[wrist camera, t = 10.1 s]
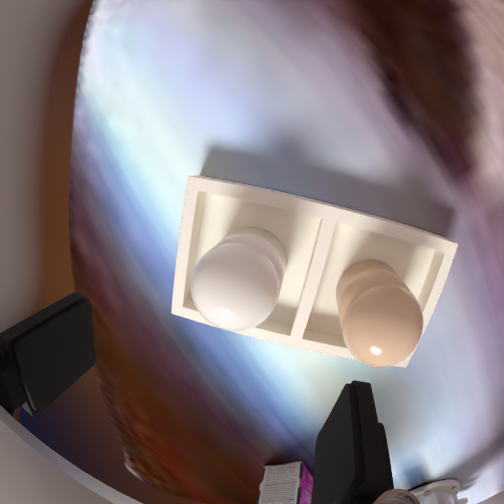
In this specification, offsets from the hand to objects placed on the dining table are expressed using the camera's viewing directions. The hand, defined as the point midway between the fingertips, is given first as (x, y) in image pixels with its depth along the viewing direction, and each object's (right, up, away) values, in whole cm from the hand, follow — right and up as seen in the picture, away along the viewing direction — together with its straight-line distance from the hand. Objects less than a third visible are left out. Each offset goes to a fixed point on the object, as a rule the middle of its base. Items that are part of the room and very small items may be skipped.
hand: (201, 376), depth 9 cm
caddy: (+6, +3, +10) cm, 12 cm away
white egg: (+2, +4, +10) cm, 11 cm away
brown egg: (+10, +1, +10) cm, 14 cm away
